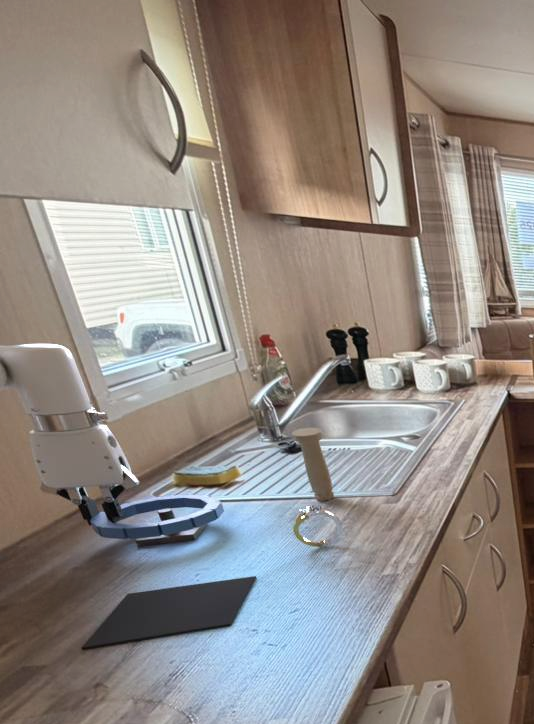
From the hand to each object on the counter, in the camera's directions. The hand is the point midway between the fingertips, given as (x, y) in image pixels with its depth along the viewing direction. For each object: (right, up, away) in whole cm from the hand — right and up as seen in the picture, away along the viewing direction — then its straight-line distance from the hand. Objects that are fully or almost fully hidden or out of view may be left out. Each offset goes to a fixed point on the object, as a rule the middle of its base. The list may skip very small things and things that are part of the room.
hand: (105, 521), depth 114 cm
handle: (+21, +5, +25) cm, 33 cm away
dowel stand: (+7, -2, +5) cm, 9 cm away
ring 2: (+36, -5, +4) cm, 37 cm away
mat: (+30, -14, -17) cm, 37 cm away
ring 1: (+7, 0, +4) cm, 8 cm away
